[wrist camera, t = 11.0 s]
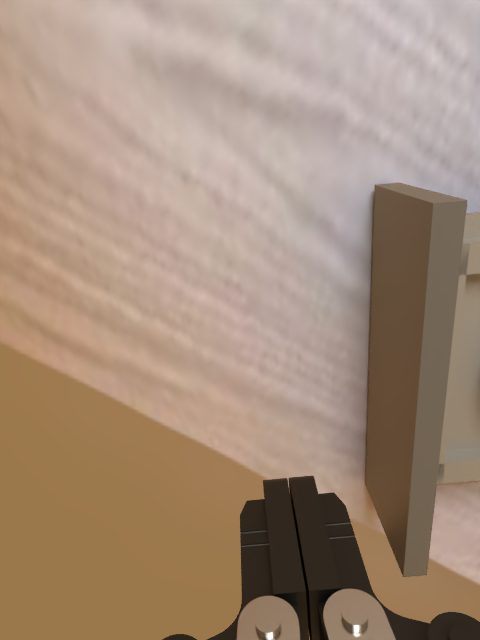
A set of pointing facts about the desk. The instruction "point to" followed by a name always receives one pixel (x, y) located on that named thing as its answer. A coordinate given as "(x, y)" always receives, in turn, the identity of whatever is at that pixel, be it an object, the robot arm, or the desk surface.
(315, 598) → the robot arm
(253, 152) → the desk surface
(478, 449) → the tray
